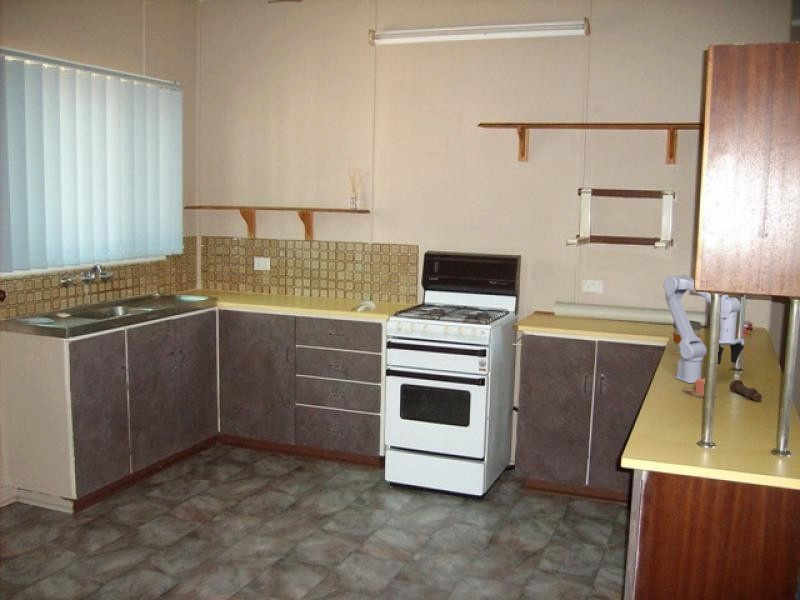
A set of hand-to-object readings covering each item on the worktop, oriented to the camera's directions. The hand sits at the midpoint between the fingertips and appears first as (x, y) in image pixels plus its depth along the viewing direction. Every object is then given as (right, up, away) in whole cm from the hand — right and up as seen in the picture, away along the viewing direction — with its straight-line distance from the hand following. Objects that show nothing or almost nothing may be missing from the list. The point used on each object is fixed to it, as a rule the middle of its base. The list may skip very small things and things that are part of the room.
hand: (725, 363), depth 311 cm
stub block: (-13, -11, -8) cm, 19 cm away
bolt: (+4, -13, -10) cm, 16 cm away
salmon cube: (-12, -11, -10) cm, 19 cm away
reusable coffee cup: (+9, -1, +69) cm, 70 cm away
